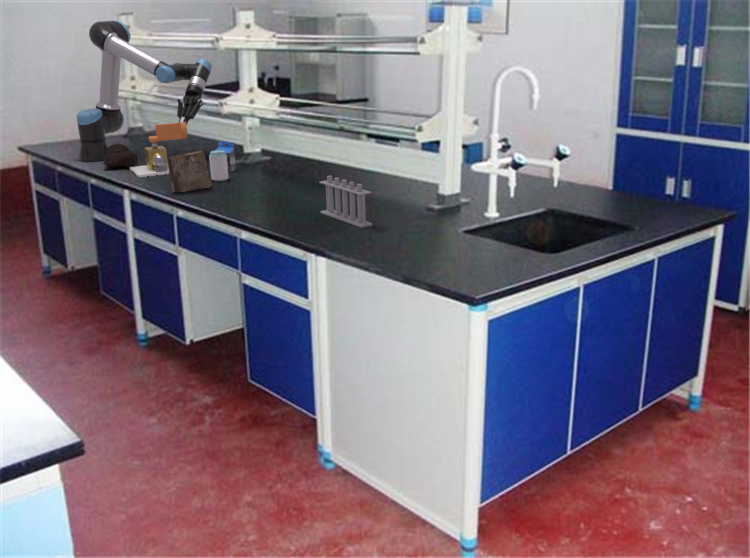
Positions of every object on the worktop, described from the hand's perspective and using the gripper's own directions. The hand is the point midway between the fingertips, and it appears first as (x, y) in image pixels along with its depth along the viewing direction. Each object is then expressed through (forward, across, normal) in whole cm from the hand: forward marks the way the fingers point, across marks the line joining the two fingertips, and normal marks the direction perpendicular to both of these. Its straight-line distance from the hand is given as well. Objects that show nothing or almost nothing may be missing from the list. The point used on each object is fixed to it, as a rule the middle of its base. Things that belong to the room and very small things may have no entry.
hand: (180, 130), depth 351 cm
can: (+30, -33, +7) cm, 45 cm away
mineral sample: (+44, -31, +21) cm, 58 cm away
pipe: (+17, +27, -5) cm, 33 cm away
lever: (+8, +2, +3) cm, 8 cm away
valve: (+20, +6, -3) cm, 21 cm away
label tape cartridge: (+16, -25, -7) cm, 31 cm away
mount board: (+20, +6, -3) cm, 21 cm away
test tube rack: (+64, -106, +41) cm, 131 cm away
